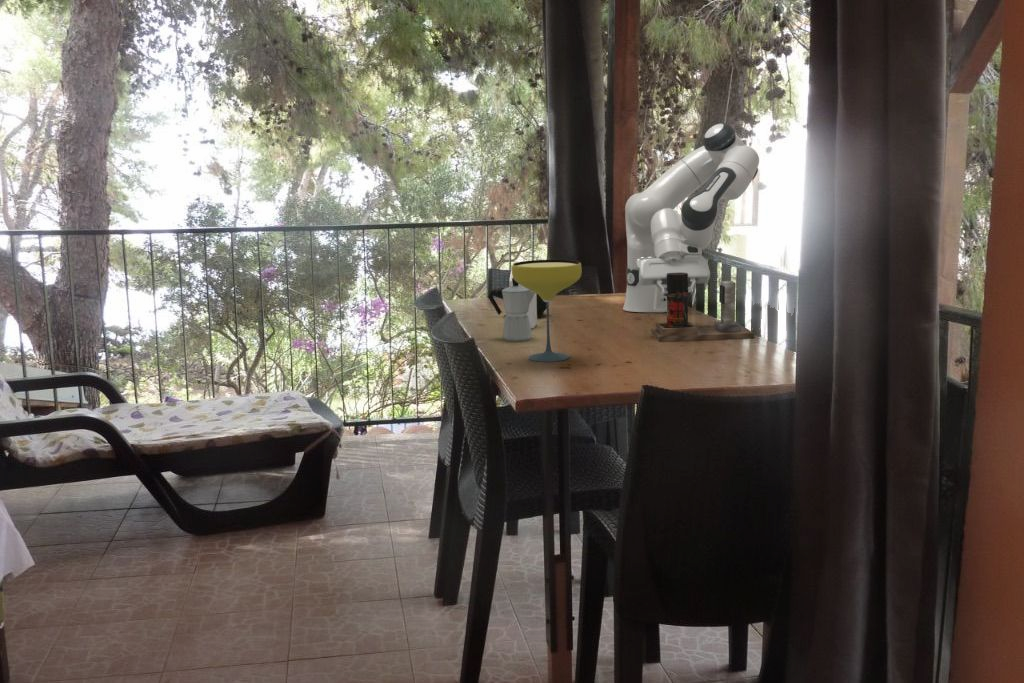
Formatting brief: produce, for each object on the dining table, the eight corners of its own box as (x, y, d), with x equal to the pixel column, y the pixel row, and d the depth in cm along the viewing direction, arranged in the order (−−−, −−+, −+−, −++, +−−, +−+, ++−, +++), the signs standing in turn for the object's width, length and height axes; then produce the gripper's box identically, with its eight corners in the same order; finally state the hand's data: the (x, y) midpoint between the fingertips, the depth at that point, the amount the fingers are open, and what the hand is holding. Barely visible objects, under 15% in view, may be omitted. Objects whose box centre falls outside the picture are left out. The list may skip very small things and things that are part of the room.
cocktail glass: (587, 363, 247) (586, 265, 242) (517, 366, 245) (514, 268, 241) (577, 349, 264) (576, 258, 260) (511, 352, 263) (509, 260, 258)
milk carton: (533, 329, 297) (531, 267, 294) (510, 328, 299) (508, 267, 295) (537, 325, 304) (535, 264, 301) (515, 324, 306) (513, 265, 302)
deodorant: (662, 325, 278) (662, 273, 275) (680, 323, 281) (679, 271, 278) (674, 328, 273) (674, 275, 270) (692, 326, 275) (692, 273, 273)
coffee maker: (542, 336, 285) (541, 275, 281) (533, 342, 277) (531, 279, 273) (495, 334, 290) (492, 275, 286) (484, 340, 281) (482, 279, 278)
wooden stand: (658, 341, 272) (658, 287, 269) (651, 334, 283) (651, 282, 280) (753, 338, 273) (754, 283, 270) (743, 331, 284) (743, 278, 281)
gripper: (636, 250, 279) (642, 288, 272) (706, 248, 280) (714, 286, 272) (634, 264, 284) (640, 302, 277) (702, 261, 285) (710, 299, 277)
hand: (677, 294), depth 275 cm, fingers closed on deodorant, 6 cm apart
